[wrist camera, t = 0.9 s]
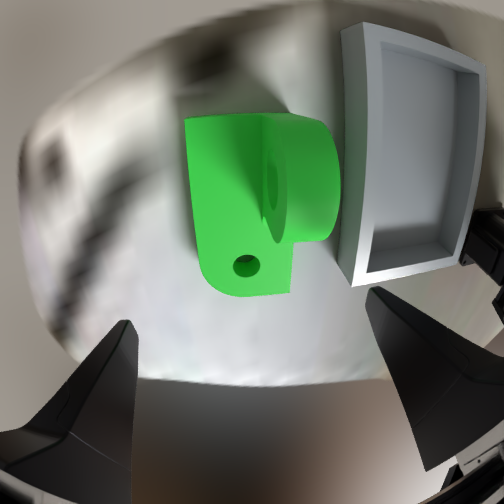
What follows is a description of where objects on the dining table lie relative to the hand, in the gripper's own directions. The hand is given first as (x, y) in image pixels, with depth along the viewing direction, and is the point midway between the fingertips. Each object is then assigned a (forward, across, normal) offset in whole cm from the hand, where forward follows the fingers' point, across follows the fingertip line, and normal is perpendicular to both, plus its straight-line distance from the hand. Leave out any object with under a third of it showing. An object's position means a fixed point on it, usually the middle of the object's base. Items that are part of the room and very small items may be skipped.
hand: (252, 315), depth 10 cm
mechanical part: (+10, 0, 0) cm, 10 cm away
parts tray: (+10, -13, -3) cm, 16 cm away
